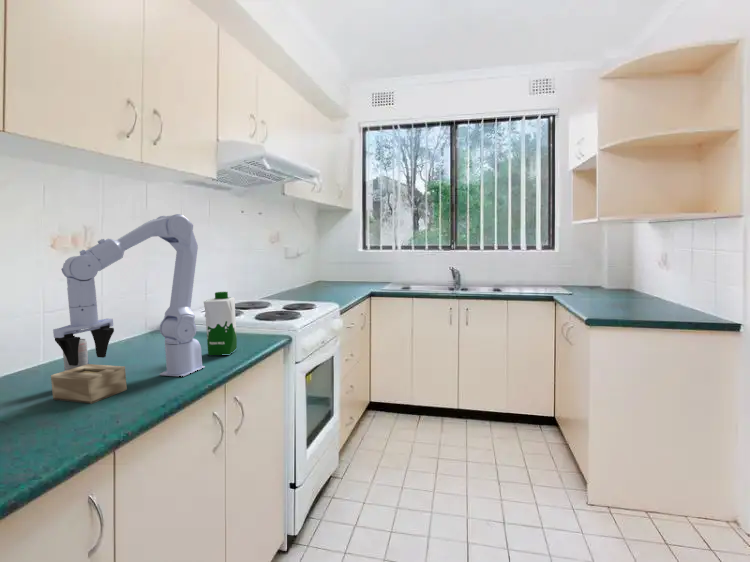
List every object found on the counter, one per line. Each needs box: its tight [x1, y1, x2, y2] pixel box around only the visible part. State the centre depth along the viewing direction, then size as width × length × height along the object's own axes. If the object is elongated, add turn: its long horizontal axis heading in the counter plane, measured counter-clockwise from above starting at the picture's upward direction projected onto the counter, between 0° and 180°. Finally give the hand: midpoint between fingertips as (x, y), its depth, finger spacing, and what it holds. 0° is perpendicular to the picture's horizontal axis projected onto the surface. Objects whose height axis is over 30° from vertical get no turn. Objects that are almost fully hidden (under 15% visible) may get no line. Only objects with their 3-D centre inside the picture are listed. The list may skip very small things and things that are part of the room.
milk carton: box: [203, 291, 238, 356], centre depth 151 cm, size 9×9×20 cm
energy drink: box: [62, 338, 90, 371], centre depth 121 cm, size 5×5×12 cm
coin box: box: [50, 363, 128, 404], centre depth 113 cm, size 10×12×6 cm
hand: (88, 361), depth 113 cm, fingers open, 7 cm apart
